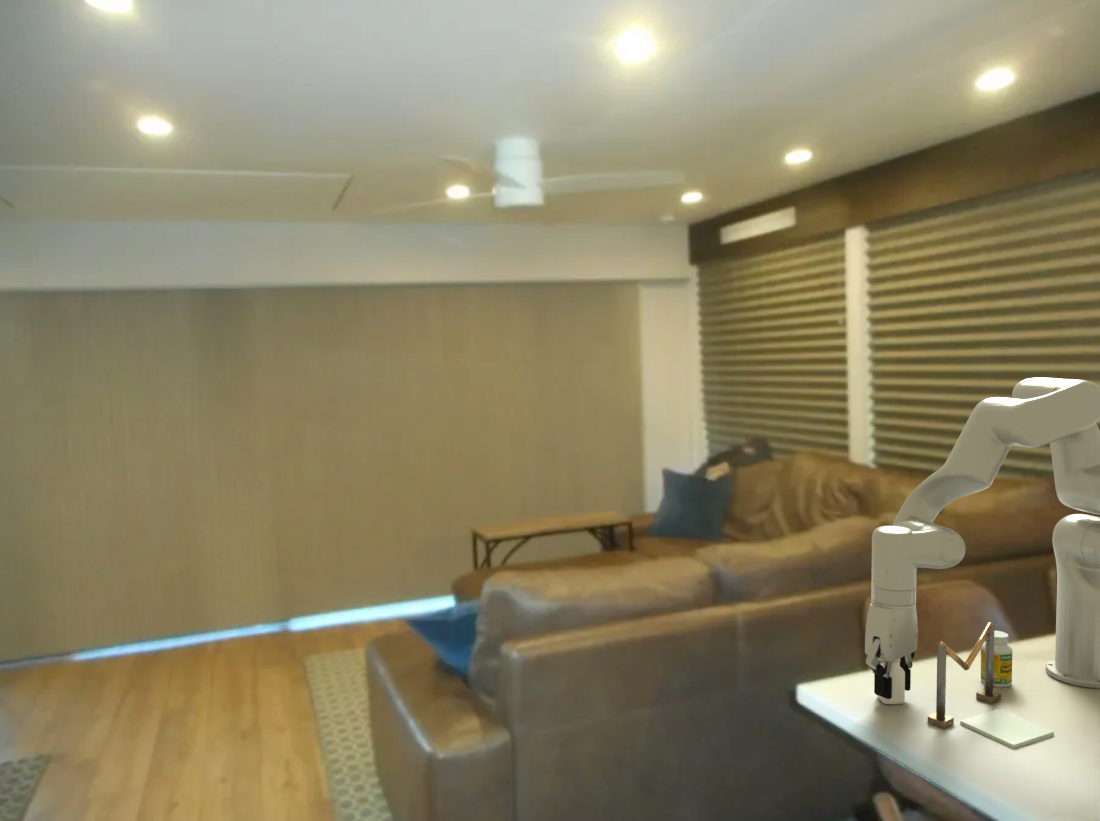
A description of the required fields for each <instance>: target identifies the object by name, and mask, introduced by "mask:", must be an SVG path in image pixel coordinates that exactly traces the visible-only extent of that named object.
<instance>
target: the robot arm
mask: <svg viewBox="0 0 1100 821" xmlns="http://www.w3.org/2000/svg"><path fill="white" fill-rule="evenodd" d="M1011 394H1012V395H1011V396H1012V397H1001V396H994V397H987V398H985V399H982V400H981V401H980V402H978V403H977V404H976V405H975V407H974V408H973V410H972V411H971V414H970V415H969V417H968V419H967V421H966V423H965V424H964V427H963V428H962V430H961V432H960V435H959V436H958V438H957V440H956V442H955V443H954V446H953V448H952V450H951V451H950V453H949V455H948V456H947V458H946V460H945V463H944V464H943V465H942V466H941V467H940V468H939V469H938V470H935V471H934V472H933V473H932V474H930V475H929V476H927V478H926V479H924V480H923V481H922V482H921V483H919V484H918V485H917V486H916V487H915V488H914V489H913V490H912V491H911V492H910V493H909V494H908V495H907V497H906V498H905V500H904V501H903V503H902V505H901V507H900V509H899V510H898V512H897V515H896V517H895V518H894V521H893V523H892V525H882V526H879V527H878V526H877V527H876V528H875V529H874V530H873V532H872V535H871V591H870V592H871V594H870V595H871V596H870V597H871V603H869V607H868V612H867V618H866V624H865V627H866V628H865V639H864V642H865V643H864V653H865V655H866V659H865V664H867V665H868V667H870V669H871V670H872V674H874V676H873V677H874V680H873V681H874V682H873V683H874V687H873V691H874V694H875V695H876V696H877V695H879V696H881V697H884V698H887V699H890V698H892V677H889V676H890V671H891V665H892V661H894V660H896V659H899V658H900V667H901V668H902V669H903V670H904V671H905V692H907V691H908V692H909V691H910V690H911V683H912V681H911V676H912V674H911V673H912V672H911V671H912V668H913V659H914V657H915V655H916V654H915V653H916V651H917V649H918V647H919V640H918V638H919V637H918V635H919V634H918V633H919V632H918V631H919V628H918V616H917V615H918V613H917V606H916V605H917V569H918V568H927V569H938V570H942V569H944V570H945V569H949V568H952V567H954V566H956V565H958V564H960V562H961V561H962V560H963V559H964V557H965V554H966V545H965V541H964V540H963V538H962V537H961V535H960V534H959V533H957V532H956V531H955V530H953V529H951V528H948V527H946V526H943V525H939V524H936V523H934V521H935V519H936V517H937V516H938V515H939V513H940V512H941V511H942V510H943V509H945V507H947V506H948V505H949V504H951V503H952V502H954V501H956V500H958V499H961V498H964V497H967V496H970V495H973V494H976V493H979V492H982V491H985V490H987V489H989V488H990V487H991V486H992V484H993V482H994V480H995V478H996V477H997V475H998V472H999V470H1000V468H1001V467H1002V465H1003V463H1004V461H1005V459H1006V458H1007V455H1008V454H1009V452H1010V451H1011V449H1012V446H1013V447H1014V446H1015V447H1021V448H1022V447H1023V448H1028V449H1029V448H1038V447H1043V446H1045V445H1049V447H1050V453H1051V462H1052V468H1053V469H1052V472H1053V480H1054V487H1055V488H1054V489H1055V492H1056V496H1057V498H1058V500H1059V501H1060V503H1061V504H1063V505H1064V506H1066V507H1067V508H1071V509H1073V510H1077V511H1080V512H1085V513H1090V514H1084V513H1074V514H1069V515H1066V516H1064V517H1063V518H1061V519H1059V521H1057V523H1056V524H1055V526H1054V528H1053V530H1052V536H1051V537H1052V539H1051V540H1052V547H1053V553H1054V557H1055V564H1056V574H1057V576H1056V578H1057V581H1056V582H1057V583H1056V585H1057V586H1056V612H1055V613H1056V615H1055V616H1056V617H1055V619H1056V620H1055V621H1056V622H1055V650H1054V651H1055V655H1054V656H1055V658H1054V659H1052V660H1049V661H1047V662H1046V663H1045V671H1046V673H1047V674H1048V675H1050V676H1051V677H1052V678H1054V679H1056V680H1057V681H1060V682H1062V683H1063V682H1064V683H1066V684H1069V685H1074V686H1078V687H1083V688H1090V689H1100V428H1099V425H1098V424H1097V423H1098V422H1100V385H1099V384H1097V383H1095V382H1094V381H1090V380H1086V379H1074V378H1058V377H1041V376H1040V377H1030V378H1029V377H1028V378H1025V379H1023V380H1020V381H1019V382H1018V383H1016V384H1015V386H1014V387H1013V389H1012V393H1011ZM1091 514H1094V515H1091ZM1095 515H1098V516H1095ZM882 655H884V658H882ZM882 662H885V668H884V667H883V666H882V665H881V664H882Z"/></svg>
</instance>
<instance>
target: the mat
mask: <svg viewBox="0 0 1100 821" xmlns="http://www.w3.org/2000/svg"><path fill="white" fill-rule="evenodd" d="M959 722H960V725H962V726H963V727H966V728H968V729H970V730H972V731H974V732H977V733H980V734H981V735H983V736H985V737H988V738H990V739H993V740H994V741H997V742H999V743H1001V744H1003V745H1005V746H1007V747H1009V748H1012V749H1017V748H1020V747H1022V746H1025V745H1028V744H1031V743H1035V742H1038V741H1040V740H1043V739H1047V738H1049V737H1053V736H1054V735H1055V731H1053V730H1052V729H1049V728H1047V727H1044V726H1042V725H1039V724H1037V723H1036V722H1035V723H1034V722H1032V721H1030V720H1027V719H1025V718H1023V717H1021V716H1018V715H1016V714H1013V713H1010V712H1008V711H1006V710H1003V709H1001V708H998V709H994V710H991V711H987V712H984V713H981V714H977V715H974V716H970V717H967V718H965V719H961V720H960V721H959Z"/></svg>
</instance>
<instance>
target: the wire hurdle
mask: <svg viewBox="0 0 1100 821" xmlns="http://www.w3.org/2000/svg"><path fill="white" fill-rule="evenodd" d="M994 631H995V625H994V624H993V622H990V621H988V622H987V623H986V624H985V627H984V628H983V630H982V632H981V634H980V635H979V637H978V639H977V641H976V643H975V645H974V646H973V648H972V649H971V651H970V653H969V655H968V657H967V659H966V661H964V660H963V659H962V658H961V657H960V656H959V655H958V654H956V652H954V650H953V649H951V647H949V646H948V645H947V644H946V643H945V642H944V641H939V643H937V644H936V646H937V647H936V649H937V650H936V697H935V698H936V699H935V700H936V703H935V704H936V706H935V707H936V708H935V710H936V712H934V713H932V714H930V715H928V716H927V724H928V725H931V726H934V727H937V728H940V729H943V730H946V729H948V728H949V727H952V726H953V725H954V720H955V718H954V717H953V716H951V715H947V714H946V695H947V694H946V688H947V685H946V684H947V683H946V682H947V679H946V678H947V655H948V656H949V657H950V658H951V659H952V660H953V661H954V662H955V663H956V664H958V665H959V667H961V668H962V669H963V670H964V671H968V670H970V668H971V667H972V664H973V663H974V661H975V659H976V658H977V656H978V654H979V652H980V651H981V647H982V645H983V643H984V642H985V683H984V688H983V689H981V690H979V691H977V692H976V693H975V699H976V700H977V701H980V702H983V703H987V704H990V705H994V704H996V703H998V702H1000V701H1002V693H1001V692H996V691H994V686H993V670H994Z"/></svg>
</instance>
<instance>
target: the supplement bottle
mask: <svg viewBox="0 0 1100 821" xmlns="http://www.w3.org/2000/svg"><path fill="white" fill-rule="evenodd" d="M1009 636H1010V635H1009V634H1008V632H1007V633H1006V632H1004V631H1002V630H1001V631H1000V630H994V670H993V688H1006V687H1007V688H1008V687H1010V686H1011V685H1012V682H1013V648H1012V646H1011V645H1010V644H1009V642H1010V641H1009V640H1010V637H1009ZM980 680H981V681H982V683H984V684H985V642H984V643H983V645H982V647H981V649H980Z"/></svg>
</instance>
